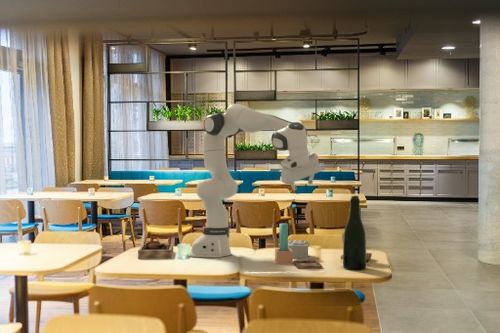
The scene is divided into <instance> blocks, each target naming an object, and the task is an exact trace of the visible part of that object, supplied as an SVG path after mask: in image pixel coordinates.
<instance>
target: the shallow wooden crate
mask: <svg viewBox="0 0 500 333" xmlns="http://www.w3.org/2000/svg"><path fill="white" fill-rule="evenodd" d="M164 244H165V243H164ZM165 245H166V247H167V248H166V250H146V249H145V246H146V243H145V244H144V243H143V244H141V246H140V247H139V248H138V250H137V258H138V259H139V260H141V259H171V258H172V256H173V254H174V244H173V243H167V244H165ZM163 248H164V247H163ZM144 249H145V250H144Z"/></svg>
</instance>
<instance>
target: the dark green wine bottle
mask: <svg viewBox="0 0 500 333" xmlns="http://www.w3.org/2000/svg"><path fill="white" fill-rule="evenodd" d="M360 203H361V200H360V198H359V195H351V197H350V199H349V216H348V219H347V223H346V224H345V226H344V230H343V232H344V239H343V241H342V246H343V247H342V255H343V259H342V267H343V268H344V269H345V270H349V271H362V270H365V269H366V268H367V261H366V253H367V234H366V233H367V232H366V229H365V226H364V223H363V221H362V217H361V211H360V210H361V208H360V206H361V205H360Z"/></svg>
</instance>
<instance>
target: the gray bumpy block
mask: <svg viewBox="0 0 500 333" xmlns="http://www.w3.org/2000/svg"><path fill="white" fill-rule="evenodd" d="M309 245H310V244H309V241H308V240H303V239H300V240H298V239H294V240H288V249H291V250H292V251H293V260H295V259H297V260H307V259H308V258H309V257H308V247H310V246H309Z"/></svg>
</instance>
